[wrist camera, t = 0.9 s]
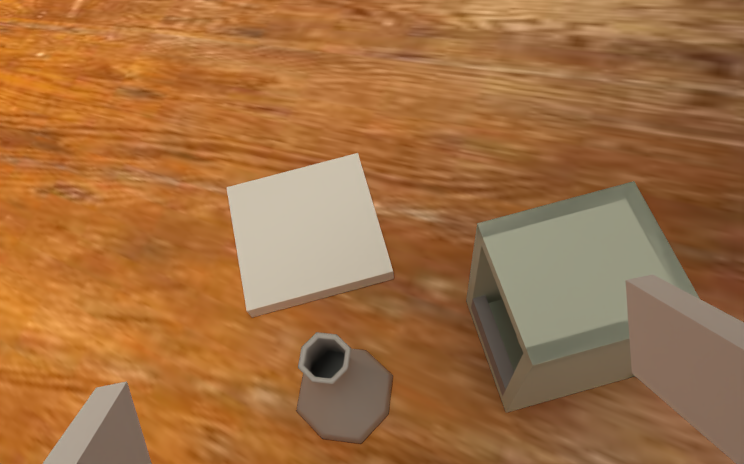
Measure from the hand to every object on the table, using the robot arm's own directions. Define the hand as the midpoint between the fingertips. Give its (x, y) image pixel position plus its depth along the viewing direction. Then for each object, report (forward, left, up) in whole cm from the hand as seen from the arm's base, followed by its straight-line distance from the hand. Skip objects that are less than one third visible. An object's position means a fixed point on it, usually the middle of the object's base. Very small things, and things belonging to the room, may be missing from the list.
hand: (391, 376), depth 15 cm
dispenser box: (-8, -12, -30) cm, 33 cm away
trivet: (+12, -18, -30) cm, 37 cm away
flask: (+6, -5, -30) cm, 31 cm away
